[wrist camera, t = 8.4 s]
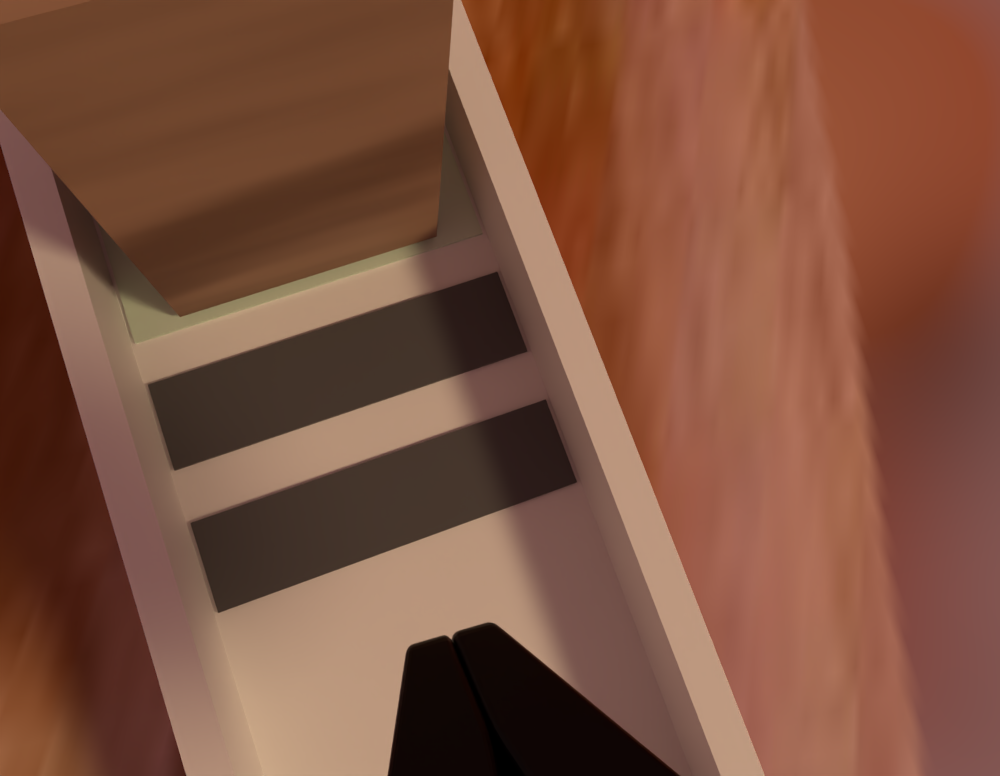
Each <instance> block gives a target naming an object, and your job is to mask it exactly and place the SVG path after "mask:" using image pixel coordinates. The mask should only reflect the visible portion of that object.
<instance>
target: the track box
mask: <svg viewBox="0 0 1000 776" xmlns="http://www.w3.org/2000/svg"><path fill="white" fill-rule="evenodd" d="M0 145H1V148H2V152H3V155H4V158H5V162H6V165H7V169H8V172H9V175H10V179H11V182H12V186H13V189H14V192H15V196H16V199H17V203H18V206H19V209H20V213H21V216H22V219H23V223H24V226H25V230H26V233H27V236H28V240H29V243H30V247H31V250H32V253H33V257H34V260H35V264H36V267H37V270H38V274H39V277H40V281H41V284H42V287H43V291H44V294H45V298H46V301H47V304H48V308H49V311H50V315H51V318H52V321H53V325H54V328H55V332H56V335H57V338H58V342H59V345H60V349H61V352H62V355H63V359H64V362H65V365H66V369H67V372H68V376H69V379H70V382H71V386H72V389H73V393H74V396H75V399H76V403H77V406H78V410H79V413H80V416H81V420H82V423H83V427H84V430H85V433H86V437H87V440H88V444H89V447H90V450H91V454H92V457H93V461H94V464H95V467H96V471H97V474H98V478H99V481H100V484H101V488H102V491H103V495H104V498H105V501H106V505H107V508H108V511H109V515H110V518H111V522H112V525H113V528H114V532H115V535H116V539H117V542H118V545H119V549H120V552H121V556H122V559H123V562H124V566H125V569H126V573H127V576H128V579H129V583H130V586H131V590H132V593H133V596H134V600H135V603H136V607H137V610H138V613H139V617H140V620H141V624H142V627H143V630H144V634H145V637H146V641H147V644H148V647H149V651H150V654H151V657H152V661H153V664H154V668H155V671H156V674H157V678H158V681H159V685H160V688H161V691H162V695H163V698H164V702H165V705H166V708H167V712H168V715H169V719H170V722H171V725H172V729H173V732H174V736H175V739H176V742H177V746H178V749H179V753H180V756H181V759H182V763H183V766H184V770H185V773H186V776H387V775H388V769H389V762H390V755H391V748H392V742H393V735H394V728H395V722H396V715H397V708H398V701H399V695H400V688H401V681H402V674H403V668H404V661H405V655H406V651H407V649H408V647H409V646H410V645H412V644H414V643H418V642H421V641H425V640H428V639H431V638H435V637H438V636H442V635H446V636H448V637H449V638H451V640H452V636H453V635H454V633H455V632H457V631H459V630H462V629H466V628H469V627H473V626H476V625H480V624H483V623H487V622H491V623H495V624H497V625H498V626H499V627H501V628H502V629H503V630H504V631H506V632H507V633H508V634H509V635H510V636H512V637H513V638H514V639H515V640H516V641H518V642H519V643H520V644H521V645H522V646H524V647H525V648H526V649H527V650H529V651H530V652H531V653H532V654H533V655H535V656H536V657H537V658H538V659H539V660H541V661H542V662H543V663H544V664H546V665H547V666H548V667H549V668H550V669H552V670H553V671H554V672H555V673H556V674H558V675H559V676H560V677H561V678H563V679H564V680H565V681H566V682H567V683H569V684H570V685H571V686H572V687H573V688H575V689H576V690H577V691H578V692H579V693H581V694H582V695H583V696H584V697H586V698H587V699H588V700H589V701H590V702H592V703H593V704H594V705H595V706H596V707H598V708H599V709H600V710H601V711H603V712H604V713H605V714H606V715H607V716H609V717H610V718H611V719H612V720H613V721H615V722H616V723H617V724H618V725H620V726H621V727H622V728H623V729H624V730H626V731H627V732H628V733H629V734H630V735H632V736H633V737H634V738H635V739H637V740H638V741H639V742H640V743H641V744H643V745H644V746H645V747H646V748H647V749H649V750H650V751H651V752H652V753H653V754H655V755H656V756H657V757H658V758H660V759H661V760H662V761H663V762H664V763H666V764H667V765H668V766H669V767H670V768H672V769H673V770H674V771H675V772H677V773H678V774H679V775H680V776H765V775H764V772H763V770H762V767H761V765H760V762H759V760H758V757H757V755H756V752H755V750H754V747H753V744H752V742H751V739H750V737H749V734H748V732H747V729H746V727H745V724H744V721H743V719H742V716H741V714H740V711H739V709H738V706H737V704H736V701H735V698H734V696H733V693H732V691H731V688H730V686H729V683H728V681H727V678H726V676H725V673H724V670H723V668H722V665H721V663H720V660H719V658H718V655H717V653H716V650H715V647H714V645H713V642H712V640H711V637H710V635H709V632H708V630H707V627H706V624H705V622H704V619H703V617H702V614H701V612H700V609H699V607H698V604H697V602H696V599H695V596H694V594H693V591H692V589H691V586H690V584H689V581H688V579H687V576H686V573H685V571H684V568H683V566H682V563H681V561H680V558H679V556H678V553H677V550H676V548H675V545H674V543H673V540H672V538H671V535H670V533H669V530H668V528H667V525H666V522H665V520H664V517H663V515H662V512H661V510H660V507H659V505H658V502H657V499H656V497H655V494H654V492H653V489H652V487H651V484H650V482H649V479H648V476H647V474H646V471H645V469H644V466H643V464H642V461H641V459H640V456H639V454H638V451H637V448H636V446H635V443H634V441H633V438H632V436H631V433H630V431H629V428H628V425H627V423H626V420H625V418H624V415H623V413H622V410H621V408H620V405H619V402H618V400H617V397H616V395H615V392H614V390H613V387H612V385H611V382H610V380H609V377H608V374H607V372H606V369H605V367H604V364H603V362H602V359H601V357H600V354H599V351H598V349H597V346H596V344H595V341H594V339H593V336H592V334H591V331H590V328H589V326H588V323H587V321H586V318H585V316H584V313H583V311H582V308H581V306H580V303H579V300H578V298H577V295H576V293H575V290H574V288H573V285H572V283H571V280H570V277H569V275H568V272H567V270H566V267H565V265H564V262H563V260H562V257H561V254H560V252H559V249H558V247H557V244H556V242H555V239H554V237H553V234H552V232H551V229H550V226H549V224H548V221H547V219H546V216H545V214H544V211H543V209H542V206H541V203H540V201H539V198H538V196H537V193H536V191H535V188H534V186H533V183H532V180H531V178H530V175H529V173H528V170H527V168H526V165H525V163H524V160H523V158H522V155H521V152H520V150H519V147H518V145H517V142H516V140H515V137H514V135H513V132H512V129H511V127H510V124H509V122H508V119H507V117H506V114H505V112H504V109H503V106H502V104H501V101H500V99H499V96H498V94H497V91H496V89H495V86H494V84H493V81H492V78H491V76H490V73H489V71H488V68H487V66H486V63H485V61H484V58H483V55H482V53H481V50H480V48H479V45H478V43H477V40H476V38H475V35H474V32H473V30H472V27H471V25H470V22H469V20H468V17H467V15H466V12H465V10H464V7H463V4H462V2H461V0H454V1H453V15H452V29H451V43H450V57H449V70H448V84H447V98H446V112H445V126H444V140H443V154H442V168H441V182H440V196H439V210H438V223H437V237H434V238H431V239H427V240H424V241H421V242H418V243H415V244H411V245H408V246H405V247H402V248H399V249H396V250H392V251H389V252H386V253H383V254H380V255H376V256H373V257H370V258H367V259H364V260H360V261H357V262H354V263H351V264H348V265H345V266H341V267H338V268H335V269H332V270H329V271H325V272H322V273H319V274H316V275H313V276H310V277H306V278H303V279H300V280H297V281H294V282H290V283H287V284H284V285H281V286H278V287H275V288H271V289H268V290H265V291H262V292H259V293H255V294H252V295H249V296H246V297H243V298H240V299H236V300H233V301H230V302H227V303H224V304H220V305H217V306H214V307H211V308H208V309H204V310H201V311H198V312H195V313H192V314H189V315H185V316H182V317H179V315H178V314H177V313H176V312H175V311H174V310H173V309H172V307H171V306H170V305H169V304H168V303H167V302H166V300H165V299H164V298H163V297H162V296H161V295H160V294H159V292H158V291H157V290H156V289H155V288H154V287H153V285H152V284H151V283H150V282H149V281H148V280H147V278H146V277H145V276H144V275H143V274H142V273H141V272H140V270H139V269H138V268H137V267H136V266H135V265H134V263H133V262H132V261H131V260H130V259H129V258H128V257H127V255H126V254H125V253H124V252H123V251H122V250H121V248H120V247H119V246H118V245H117V244H116V243H115V242H114V240H113V239H112V238H111V237H110V236H109V235H108V233H107V232H106V231H105V230H104V229H103V228H102V226H101V225H100V224H99V223H98V222H97V221H96V220H95V218H94V217H93V216H92V215H91V214H90V213H89V211H88V210H87V209H86V208H85V207H84V206H83V205H82V203H81V202H80V201H79V200H78V199H77V198H76V196H75V195H74V194H73V193H72V192H71V191H70V189H69V188H68V187H67V186H66V185H65V184H64V183H63V181H62V180H61V179H60V178H59V177H58V176H57V174H56V173H55V172H54V171H53V170H52V169H51V168H50V166H49V165H48V164H47V163H46V162H45V161H44V159H43V158H42V157H41V156H40V155H39V154H38V153H37V151H36V150H35V149H34V148H33V147H32V146H31V144H30V143H29V142H28V141H27V140H26V139H25V137H24V136H23V135H22V134H21V133H20V132H19V131H18V129H17V128H16V127H15V126H14V125H13V124H12V122H11V121H10V120H9V119H8V118H7V117H6V116H5V114H4V113H3V112H2V111H1V110H0Z"/></svg>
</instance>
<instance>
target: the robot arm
mask: <svg viewBox="0 0 1000 776" xmlns="http://www.w3.org/2000/svg"><path fill="white" fill-rule="evenodd" d="M387 776H680V775H679V774H678V773H677V772H675V771H674V770H673V769H672V768H670V767H669V766H668V765H667V764H666V763H664V762H663V761H662V760H661V759H660V758H658V757H657V756H656V755H655V754H653V753H652V752H651V751H650V750H649V749H647V748H646V747H645V746H644V745H643V744H641V743H640V742H639V741H638V740H637V739H635V738H634V737H633V736H632V735H630V734H629V733H628V732H627V731H626V730H624V729H623V728H622V727H621V726H620V725H618V724H617V723H616V722H615V721H613V720H612V719H611V718H610V717H609V716H607V715H606V714H605V713H604V712H603V711H601V710H600V709H599V708H598V707H596V706H595V705H594V704H593V703H592V702H590V701H589V700H588V699H587V698H586V697H584V696H583V695H582V694H581V693H579V692H578V691H577V690H576V689H575V688H573V687H572V686H571V685H570V684H569V683H567V682H566V681H565V680H564V679H563V678H561V677H560V676H559V675H558V674H556V673H555V672H554V671H553V670H552V669H550V668H549V667H548V666H547V665H546V664H544V663H543V662H542V661H541V660H539V659H538V658H537V657H536V656H535V655H533V654H532V653H531V652H530V651H529V650H527V649H526V648H525V647H524V646H522V645H521V644H520V643H519V642H518V641H516V640H515V639H514V638H513V637H512V636H510V635H509V634H508V633H507V632H506V631H504V630H503V629H502V628H501V627H499V626H498V625H497V624H495V623H491V622H487V623H483V624H480V625H476V626H473V627H469V628H466V629H462V630H459V631H457V632H455V633H454V635H453V636H452V640H451V638H449V637H448V636H446V635H442V636H438V637H435V638H431V639H428V640H425V641H421V642H418V643H414V644H412V645H410V646H409V647H408V649H407V651H406V655H405V661H404V668H403V674H402V681H401V688H400V695H399V701H398V708H397V715H396V722H395V728H394V735H393V742H392V748H391V755H390V762H389V769H388V775H387Z"/></svg>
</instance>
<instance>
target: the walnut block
mask: <svg viewBox="0 0 1000 776" xmlns="http://www.w3.org/2000/svg"><path fill="white" fill-rule="evenodd" d="M453 1H454V0H0V110H1V111H2V112H3V113H4V114H5V116H6V117H7V118H8V119H9V120H10V121H11V122H12V124H13V125H14V126H15V127H16V128H17V129H18V131H19V132H20V133H21V134H22V135H23V136H24V137H25V139H26V140H27V141H28V142H29V143H30V144H31V146H32V147H33V148H34V149H35V150H36V151H37V153H38V154H39V155H40V156H41V157H42V158H43V159H44V161H45V162H46V163H47V164H48V165H49V166H50V168H51V169H52V170H53V171H54V172H55V173H56V174H57V176H58V177H59V178H60V179H61V180H62V181H63V183H64V184H65V185H66V186H67V187H68V188H69V189H70V191H71V192H72V193H73V194H74V195H75V196H76V198H77V199H78V200H79V201H80V202H81V203H82V205H83V206H84V207H85V208H86V209H87V210H88V211H89V213H90V214H91V215H92V216H93V217H94V218H95V220H96V221H97V222H98V223H99V224H100V225H101V226H102V228H103V229H104V230H105V231H106V232H107V233H108V235H109V236H110V237H111V238H112V239H113V240H114V242H115V243H116V244H117V245H118V246H119V247H120V248H121V250H122V251H123V252H124V253H125V254H126V255H127V257H128V258H129V259H130V260H131V261H132V262H133V263H134V265H135V266H136V267H137V268H138V269H139V270H140V272H141V273H142V274H143V275H144V276H145V277H146V278H147V280H148V281H149V282H150V283H151V284H152V285H153V287H154V288H155V289H156V290H157V291H158V292H159V294H160V295H161V296H162V297H163V298H164V299H165V300H166V302H167V303H168V304H169V305H170V306H171V307H172V309H173V310H174V311H175V312H176V313H177V314H178V315H179V317H182V316H185V315H189V314H192V313H195V312H198V311H201V310H204V309H208V308H211V307H214V306H217V305H220V304H224V303H227V302H230V301H233V300H236V299H240V298H243V297H246V296H249V295H252V294H255V293H259V292H262V291H265V290H268V289H271V288H275V287H278V286H281V285H284V284H287V283H290V282H294V281H297V280H300V279H303V278H306V277H310V276H313V275H316V274H319V273H322V272H325V271H329V270H332V269H335V268H338V267H341V266H345V265H348V264H351V263H354V262H357V261H360V260H364V259H367V258H370V257H373V256H376V255H380V254H383V253H386V252H389V251H392V250H396V249H399V248H402V247H405V246H408V245H411V244H415V243H418V242H421V241H424V240H427V239H431V238H434V237H437V223H438V210H439V196H440V182H441V168H442V154H443V140H444V126H445V112H446V98H447V84H448V70H449V57H450V43H451V29H452V15H453Z"/></svg>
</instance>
